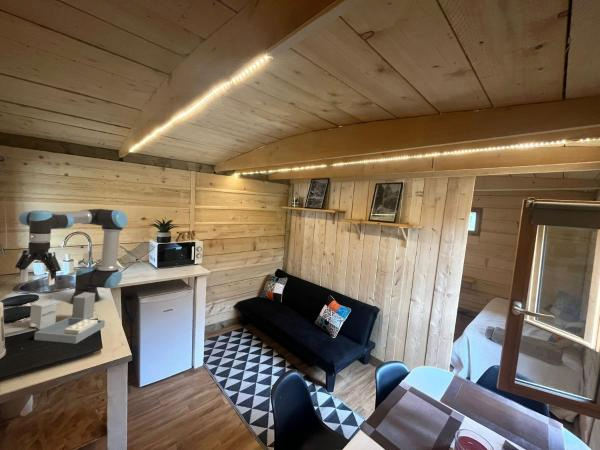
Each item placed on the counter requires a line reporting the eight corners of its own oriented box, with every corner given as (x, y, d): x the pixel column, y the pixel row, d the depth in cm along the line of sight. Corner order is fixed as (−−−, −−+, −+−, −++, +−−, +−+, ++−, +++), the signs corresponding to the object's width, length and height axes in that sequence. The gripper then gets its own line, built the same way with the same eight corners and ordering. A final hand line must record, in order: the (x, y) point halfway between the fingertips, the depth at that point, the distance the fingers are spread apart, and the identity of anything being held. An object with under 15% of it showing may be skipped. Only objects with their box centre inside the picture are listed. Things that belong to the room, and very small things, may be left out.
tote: (68, 325, 139) (68, 317, 139) (104, 328, 139) (104, 320, 139) (34, 341, 121) (34, 332, 121) (75, 345, 121) (76, 336, 121)
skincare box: (81, 317, 149) (83, 291, 148) (94, 318, 150) (96, 292, 149) (70, 323, 141) (71, 296, 140) (83, 324, 141) (85, 297, 141)
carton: (84, 328, 136) (85, 317, 136) (97, 329, 136) (97, 318, 136) (63, 338, 124) (64, 327, 124) (78, 340, 124) (78, 328, 124)
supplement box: (39, 329, 132) (41, 306, 131) (29, 327, 133) (30, 304, 132) (55, 324, 139) (57, 301, 138) (45, 321, 140) (47, 299, 140)
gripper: (5, 239, 120) (3, 283, 121) (57, 245, 120) (55, 288, 121) (22, 238, 127) (20, 279, 128) (71, 243, 128) (69, 283, 129)
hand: (37, 283), depth 125 cm, fingers open, 13 cm apart
